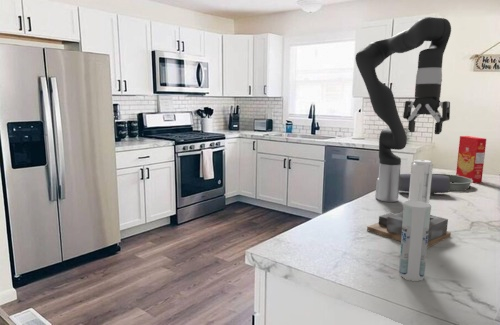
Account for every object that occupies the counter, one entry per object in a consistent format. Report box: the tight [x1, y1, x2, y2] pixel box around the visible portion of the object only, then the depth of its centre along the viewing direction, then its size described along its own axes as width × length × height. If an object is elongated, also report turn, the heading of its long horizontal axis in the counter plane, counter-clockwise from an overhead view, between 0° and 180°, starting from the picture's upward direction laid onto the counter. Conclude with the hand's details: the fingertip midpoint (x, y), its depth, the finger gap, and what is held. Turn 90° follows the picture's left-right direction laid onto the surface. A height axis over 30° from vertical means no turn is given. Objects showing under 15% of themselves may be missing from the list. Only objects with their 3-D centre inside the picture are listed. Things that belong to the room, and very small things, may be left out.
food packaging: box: [455, 135, 487, 184], centre depth 215 cm, size 15×5×25 cm, turn 6°
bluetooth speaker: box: [399, 173, 451, 196], centre depth 184 cm, size 23×9×10 cm, turn 80°
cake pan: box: [432, 173, 473, 191], centre depth 202 cm, size 25×25×4 cm
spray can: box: [398, 200, 432, 282], centre depth 98 cm, size 6×6×20 cm
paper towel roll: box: [407, 159, 434, 204], centre depth 126 cm, size 6×6×25 cm
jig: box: [366, 211, 452, 248], centre depth 130 cm, size 21×18×6 cm
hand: (424, 133), depth 122 cm, fingers open, 8 cm apart
